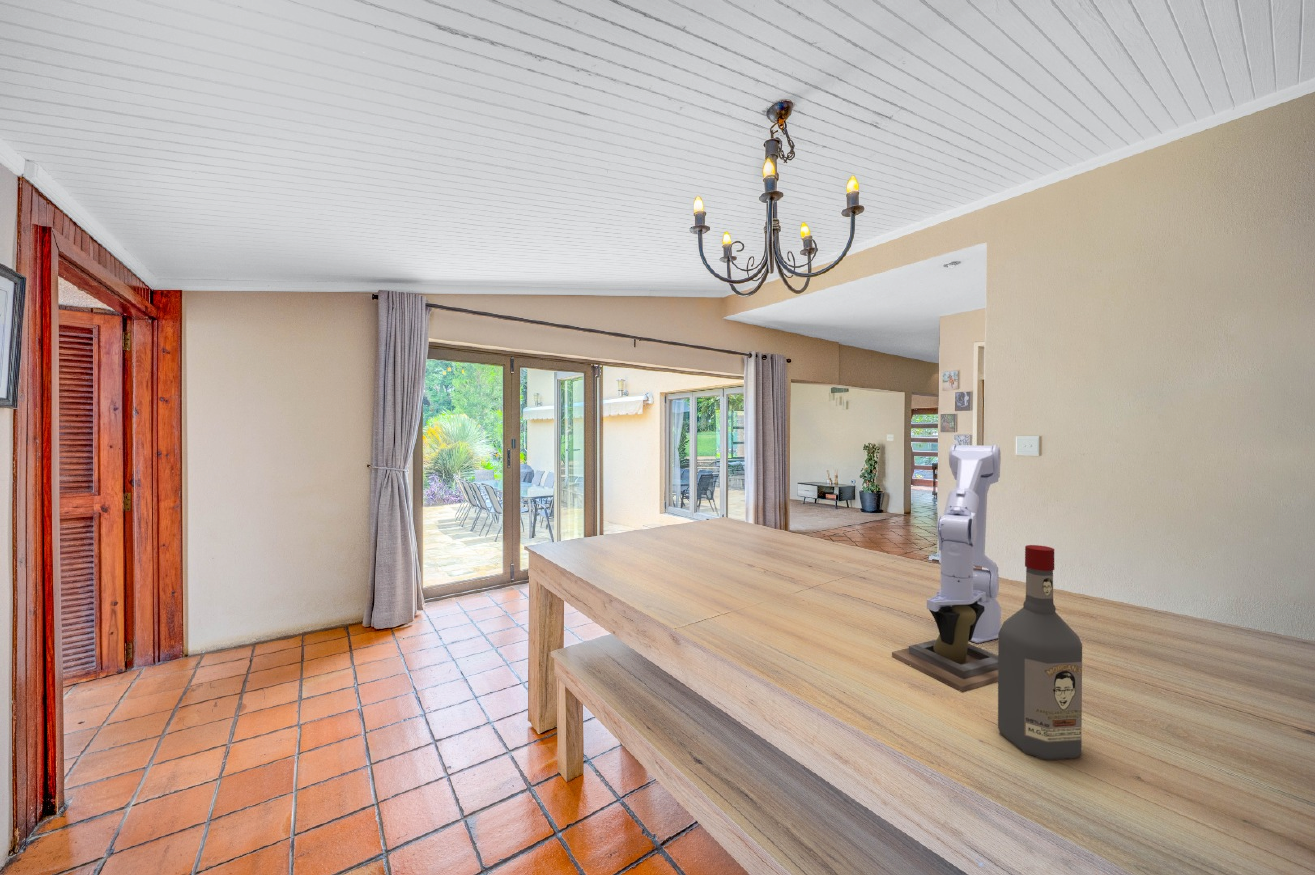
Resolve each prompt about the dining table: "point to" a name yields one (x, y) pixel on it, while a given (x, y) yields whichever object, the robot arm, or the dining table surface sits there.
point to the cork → (957, 635)
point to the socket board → (945, 674)
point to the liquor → (1040, 670)
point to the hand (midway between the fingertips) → (956, 640)
